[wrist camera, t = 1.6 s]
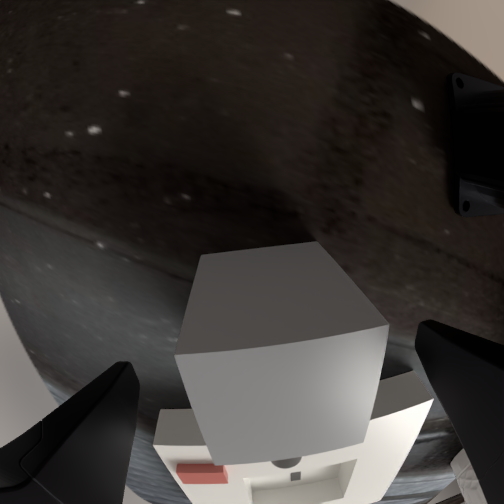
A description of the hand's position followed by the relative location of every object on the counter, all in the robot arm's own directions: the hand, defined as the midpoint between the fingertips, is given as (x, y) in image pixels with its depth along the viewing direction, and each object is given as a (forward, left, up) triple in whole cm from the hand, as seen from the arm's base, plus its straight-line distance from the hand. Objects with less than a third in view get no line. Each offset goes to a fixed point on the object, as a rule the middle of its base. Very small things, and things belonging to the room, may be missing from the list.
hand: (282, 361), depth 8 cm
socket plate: (-1, +13, -4) cm, 14 cm away
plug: (0, +1, -4) cm, 4 cm away
